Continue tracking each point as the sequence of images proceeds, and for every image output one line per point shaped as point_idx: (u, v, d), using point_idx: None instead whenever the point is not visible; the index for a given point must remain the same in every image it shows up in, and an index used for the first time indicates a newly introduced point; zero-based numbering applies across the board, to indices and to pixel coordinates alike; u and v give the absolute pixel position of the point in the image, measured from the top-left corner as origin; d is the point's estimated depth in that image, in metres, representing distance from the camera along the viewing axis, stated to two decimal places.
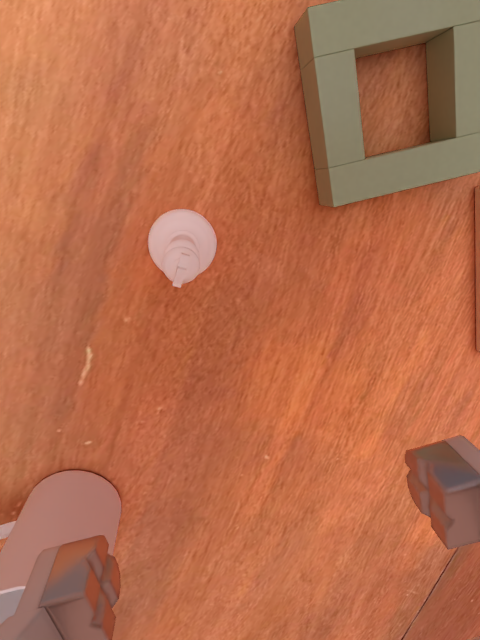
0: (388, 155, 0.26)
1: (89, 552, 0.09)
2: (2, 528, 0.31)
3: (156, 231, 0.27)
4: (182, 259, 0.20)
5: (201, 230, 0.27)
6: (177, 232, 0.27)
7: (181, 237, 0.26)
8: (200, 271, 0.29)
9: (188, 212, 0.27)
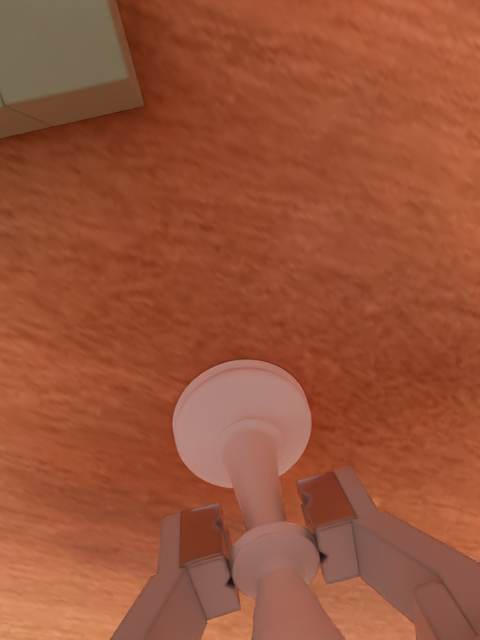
0: None
1: (215, 518, 0.09)
2: None
3: (216, 480, 0.14)
4: None
5: (212, 405, 0.13)
6: (217, 460, 0.13)
7: (227, 468, 0.12)
8: (300, 399, 0.13)
9: (177, 425, 0.13)
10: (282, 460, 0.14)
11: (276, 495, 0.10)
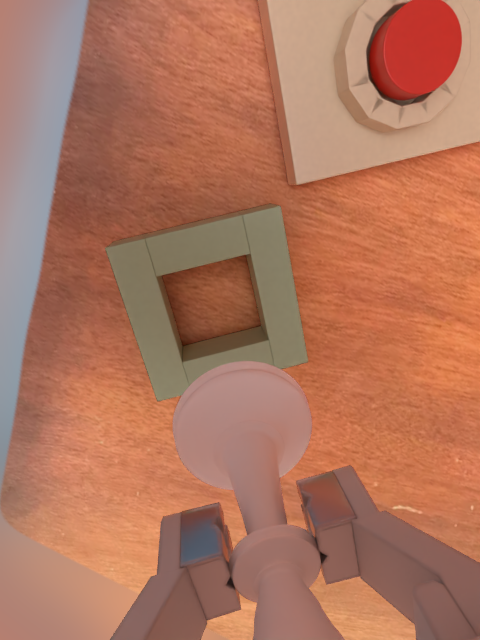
0: (266, 319, 0.27)
1: (215, 517, 0.09)
2: None
3: (216, 482, 0.14)
4: None
5: (213, 407, 0.13)
6: (217, 462, 0.13)
7: (227, 470, 0.12)
8: (301, 401, 0.13)
9: (177, 427, 0.13)
10: (282, 462, 0.14)
11: (277, 497, 0.10)
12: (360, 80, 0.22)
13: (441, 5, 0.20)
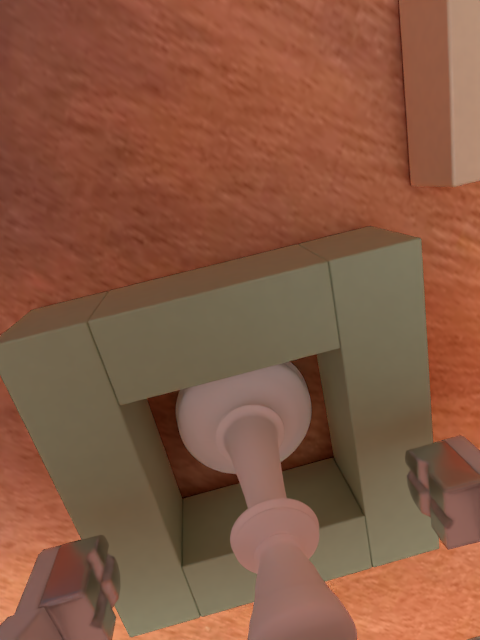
0: (363, 479, 0.12)
1: (89, 552, 0.09)
2: None
3: (218, 466, 0.14)
4: None
5: (215, 391, 0.13)
6: (219, 445, 0.13)
7: (229, 452, 0.12)
8: (300, 386, 0.14)
9: (180, 411, 0.13)
10: (282, 446, 0.14)
11: (277, 475, 0.11)
12: None
13: None
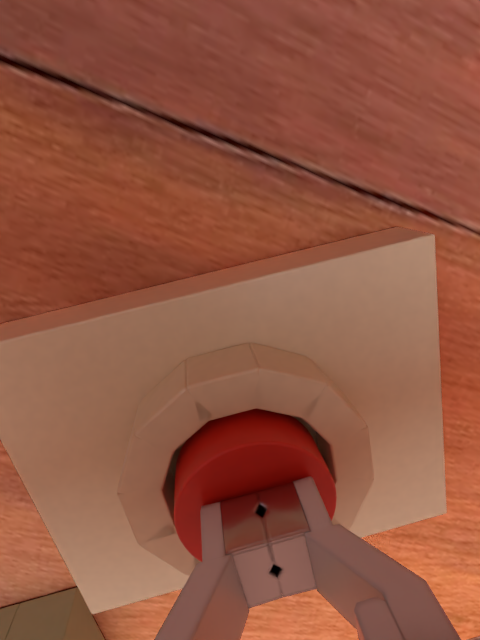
0: None
1: (255, 506, 0.09)
2: None
3: None
4: None
5: None
6: None
7: None
8: None
9: None
10: None
11: None
12: (158, 532, 0.11)
13: (286, 453, 0.10)
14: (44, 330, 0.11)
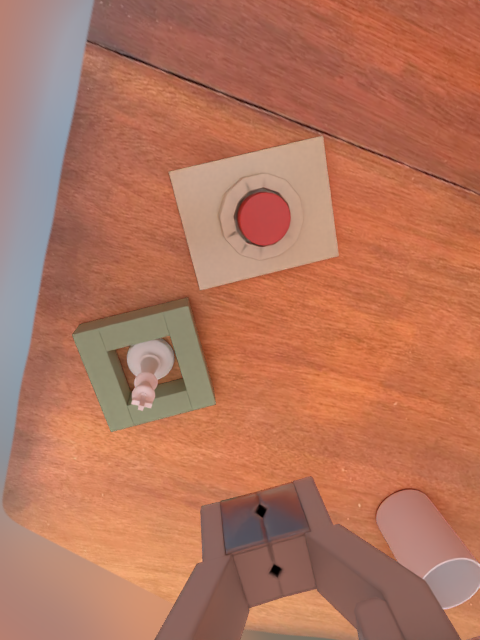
0: (183, 377, 0.40)
1: (255, 506, 0.09)
2: None
3: None
4: (134, 403, 0.33)
5: (138, 350, 0.40)
6: (139, 367, 0.40)
7: (141, 368, 0.40)
8: (167, 349, 0.41)
9: (127, 357, 0.41)
10: (162, 369, 0.41)
11: (150, 371, 0.38)
12: (231, 234, 0.35)
13: (274, 196, 0.33)
14: (196, 165, 0.34)
